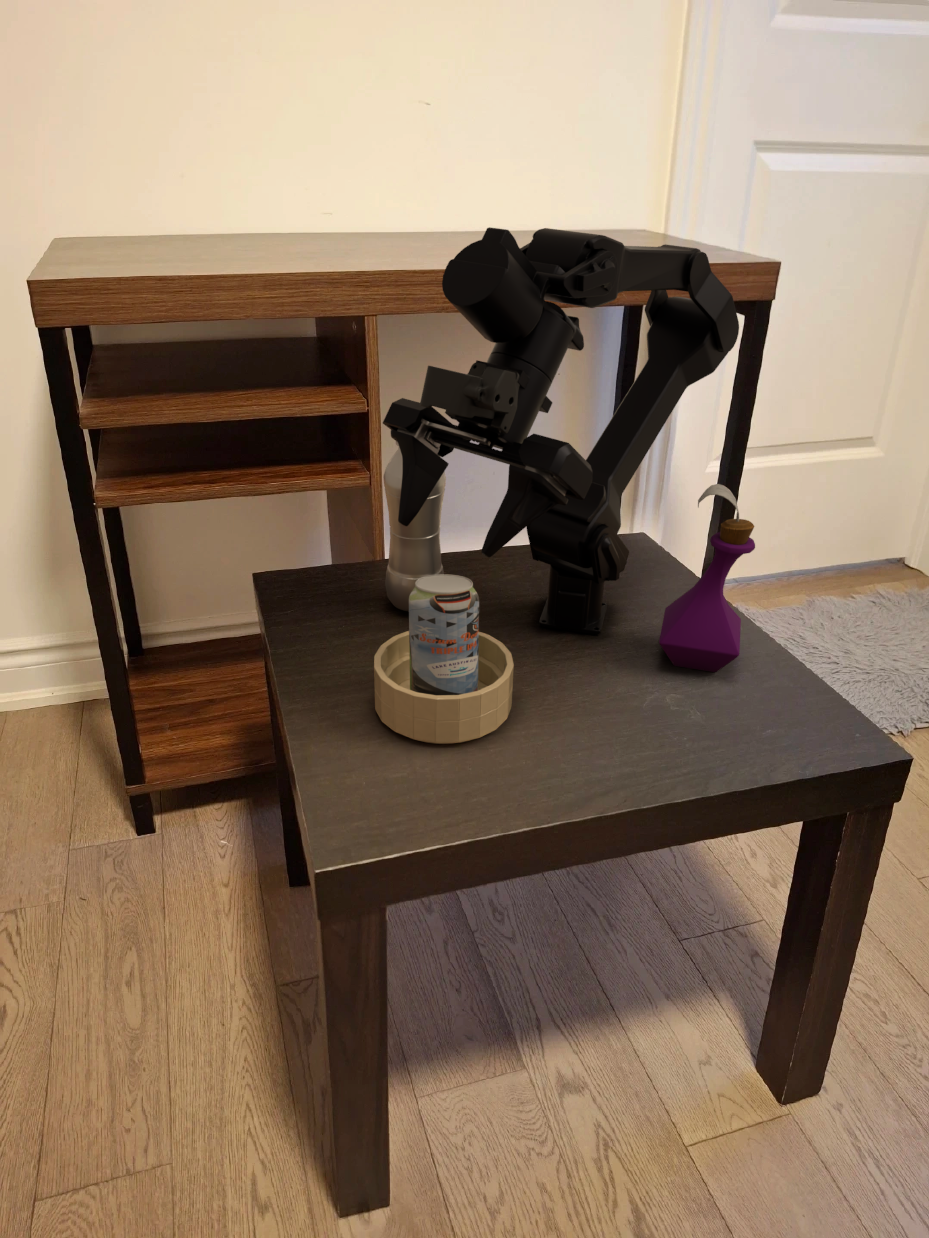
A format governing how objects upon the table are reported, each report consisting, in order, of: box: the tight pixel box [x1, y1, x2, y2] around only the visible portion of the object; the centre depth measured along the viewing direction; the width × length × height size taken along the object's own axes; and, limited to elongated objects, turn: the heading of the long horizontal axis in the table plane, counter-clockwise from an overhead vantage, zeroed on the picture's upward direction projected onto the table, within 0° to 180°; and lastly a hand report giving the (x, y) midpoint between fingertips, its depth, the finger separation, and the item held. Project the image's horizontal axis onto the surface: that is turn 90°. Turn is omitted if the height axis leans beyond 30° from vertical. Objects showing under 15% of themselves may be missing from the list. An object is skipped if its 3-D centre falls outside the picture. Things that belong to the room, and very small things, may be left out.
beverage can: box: [408, 573, 480, 695], centre depth 82 cm, size 6×7×12 cm
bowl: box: [373, 630, 515, 745], centre depth 84 cm, size 12×12×5 cm
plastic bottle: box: [383, 441, 447, 612], centre depth 97 cm, size 6×7×20 cm
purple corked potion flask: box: [658, 483, 756, 673], centre depth 89 cm, size 8×8×18 cm
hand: (442, 539), depth 78 cm, fingers open, 9 cm apart
